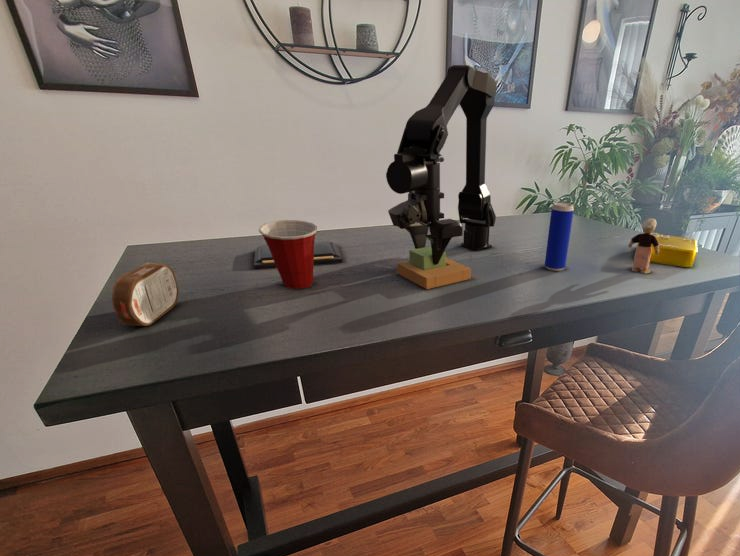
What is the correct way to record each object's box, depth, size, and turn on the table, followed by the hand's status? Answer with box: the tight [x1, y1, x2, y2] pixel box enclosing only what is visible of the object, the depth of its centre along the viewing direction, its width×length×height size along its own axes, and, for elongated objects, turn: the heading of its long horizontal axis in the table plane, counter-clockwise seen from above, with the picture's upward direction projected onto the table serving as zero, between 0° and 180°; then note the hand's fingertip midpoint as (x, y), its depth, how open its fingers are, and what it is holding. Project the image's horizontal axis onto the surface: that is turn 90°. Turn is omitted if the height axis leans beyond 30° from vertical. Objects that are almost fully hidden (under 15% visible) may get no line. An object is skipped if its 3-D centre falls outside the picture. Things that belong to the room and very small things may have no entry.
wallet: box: [253, 240, 343, 269], centre depth 109 cm, size 20×2×15 cm
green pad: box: [408, 245, 447, 270], centre depth 101 cm, size 6×6×3 cm
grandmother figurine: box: [627, 217, 659, 274], centre depth 108 cm, size 8×4×13 cm, turn 65°
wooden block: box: [396, 257, 472, 290], centre depth 100 cm, size 12×12×2 cm
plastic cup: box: [258, 219, 318, 290], centre depth 90 cm, size 11×11×12 cm
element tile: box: [635, 232, 698, 268], centre depth 121 cm, size 15×15×5 cm
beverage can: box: [544, 202, 575, 272], centre depth 106 cm, size 5×5×15 cm
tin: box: [111, 261, 179, 327], centre depth 75 cm, size 15×3×8 cm, turn 5°
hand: (427, 260), depth 101 cm, fingers closed on green pad, 6 cm apart
